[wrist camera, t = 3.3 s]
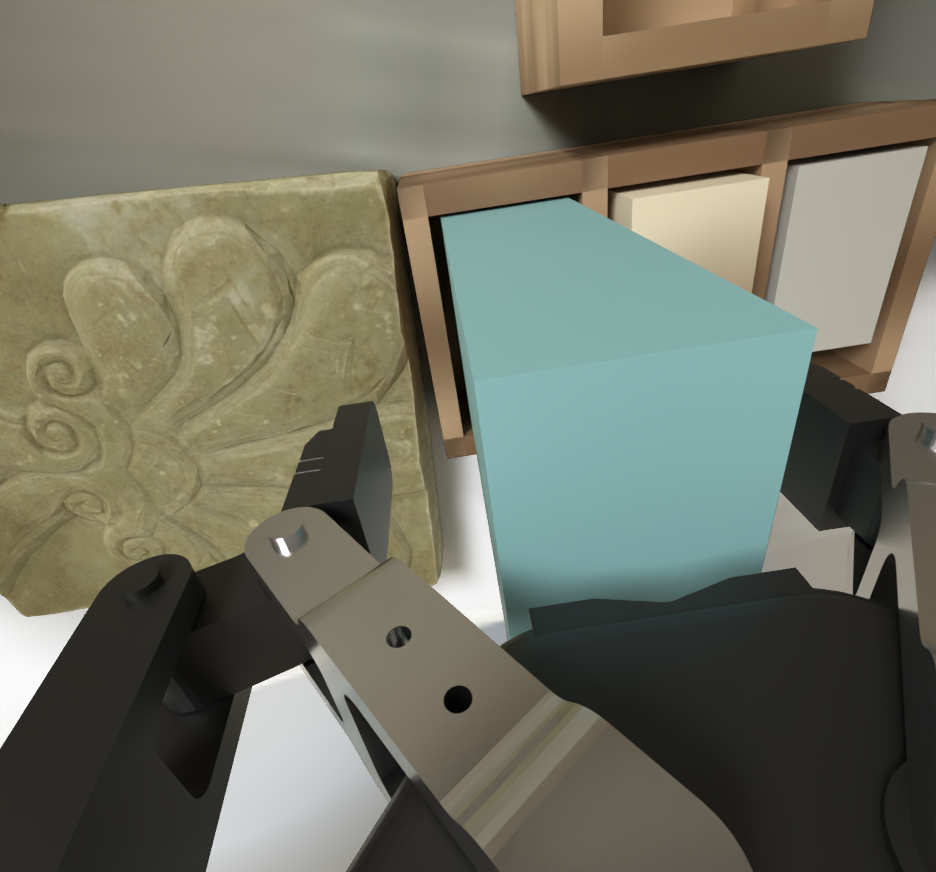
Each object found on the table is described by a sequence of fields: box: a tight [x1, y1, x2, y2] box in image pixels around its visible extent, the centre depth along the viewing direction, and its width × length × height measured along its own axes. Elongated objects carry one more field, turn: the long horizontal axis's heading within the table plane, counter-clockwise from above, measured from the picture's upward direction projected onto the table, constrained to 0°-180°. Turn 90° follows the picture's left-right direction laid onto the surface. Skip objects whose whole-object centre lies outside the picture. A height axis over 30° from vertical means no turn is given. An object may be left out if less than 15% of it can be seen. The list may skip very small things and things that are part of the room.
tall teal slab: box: [440, 195, 818, 640], centre depth 13 cm, size 7×4×14 cm, turn 8°
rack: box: [397, 99, 936, 459], centre depth 18 cm, size 9×16×4 cm, turn 98°
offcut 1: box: [607, 170, 770, 293], centre depth 17 cm, size 7×4×4 cm, turn 8°
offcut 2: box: [764, 144, 928, 352], centre depth 17 cm, size 6×4×4 cm, turn 8°
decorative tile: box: [0, 170, 443, 617], centre depth 21 cm, size 19×20×4 cm
